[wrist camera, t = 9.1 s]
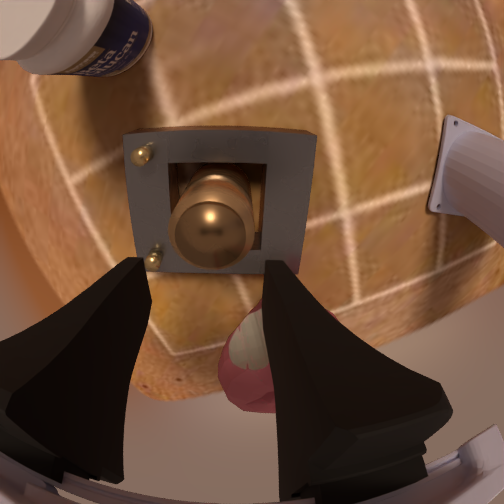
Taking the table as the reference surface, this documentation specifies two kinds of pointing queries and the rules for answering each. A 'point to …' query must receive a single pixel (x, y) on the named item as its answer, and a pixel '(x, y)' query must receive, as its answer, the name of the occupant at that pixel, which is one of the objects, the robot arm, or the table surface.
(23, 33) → the pill bottle
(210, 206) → the brass cylinder
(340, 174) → the table surface
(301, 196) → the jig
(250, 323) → the apple
